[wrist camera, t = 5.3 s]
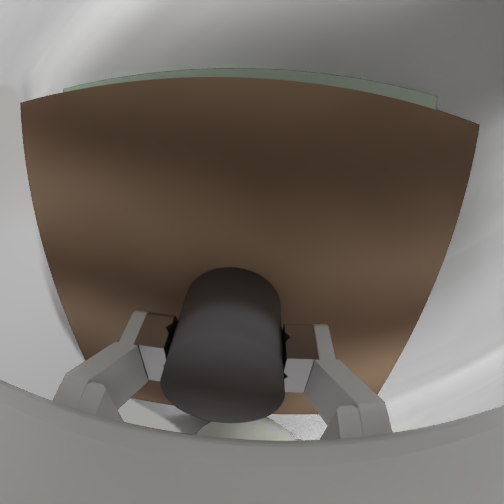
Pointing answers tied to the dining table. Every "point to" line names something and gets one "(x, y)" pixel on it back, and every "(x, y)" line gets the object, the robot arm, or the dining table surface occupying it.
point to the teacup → (248, 431)
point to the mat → (283, 75)
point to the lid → (244, 224)
